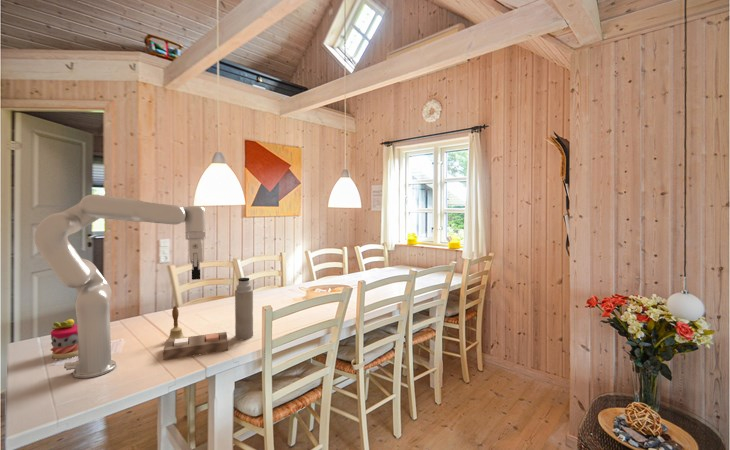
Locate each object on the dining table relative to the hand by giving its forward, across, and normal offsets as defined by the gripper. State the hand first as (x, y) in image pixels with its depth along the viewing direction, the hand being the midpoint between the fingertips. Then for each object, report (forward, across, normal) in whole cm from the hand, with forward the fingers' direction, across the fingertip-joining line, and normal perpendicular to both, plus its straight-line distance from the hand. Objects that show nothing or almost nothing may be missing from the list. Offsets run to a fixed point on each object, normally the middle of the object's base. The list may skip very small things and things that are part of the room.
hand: (196, 279), depth 144 cm
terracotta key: (+29, +2, -6) cm, 30 cm away
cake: (+31, +17, +48) cm, 60 cm away
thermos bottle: (+31, +10, -20) cm, 38 cm away
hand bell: (+31, +17, +9) cm, 37 cm away
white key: (+29, +2, +6) cm, 30 cm away
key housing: (+31, +2, 0) cm, 31 cm away
